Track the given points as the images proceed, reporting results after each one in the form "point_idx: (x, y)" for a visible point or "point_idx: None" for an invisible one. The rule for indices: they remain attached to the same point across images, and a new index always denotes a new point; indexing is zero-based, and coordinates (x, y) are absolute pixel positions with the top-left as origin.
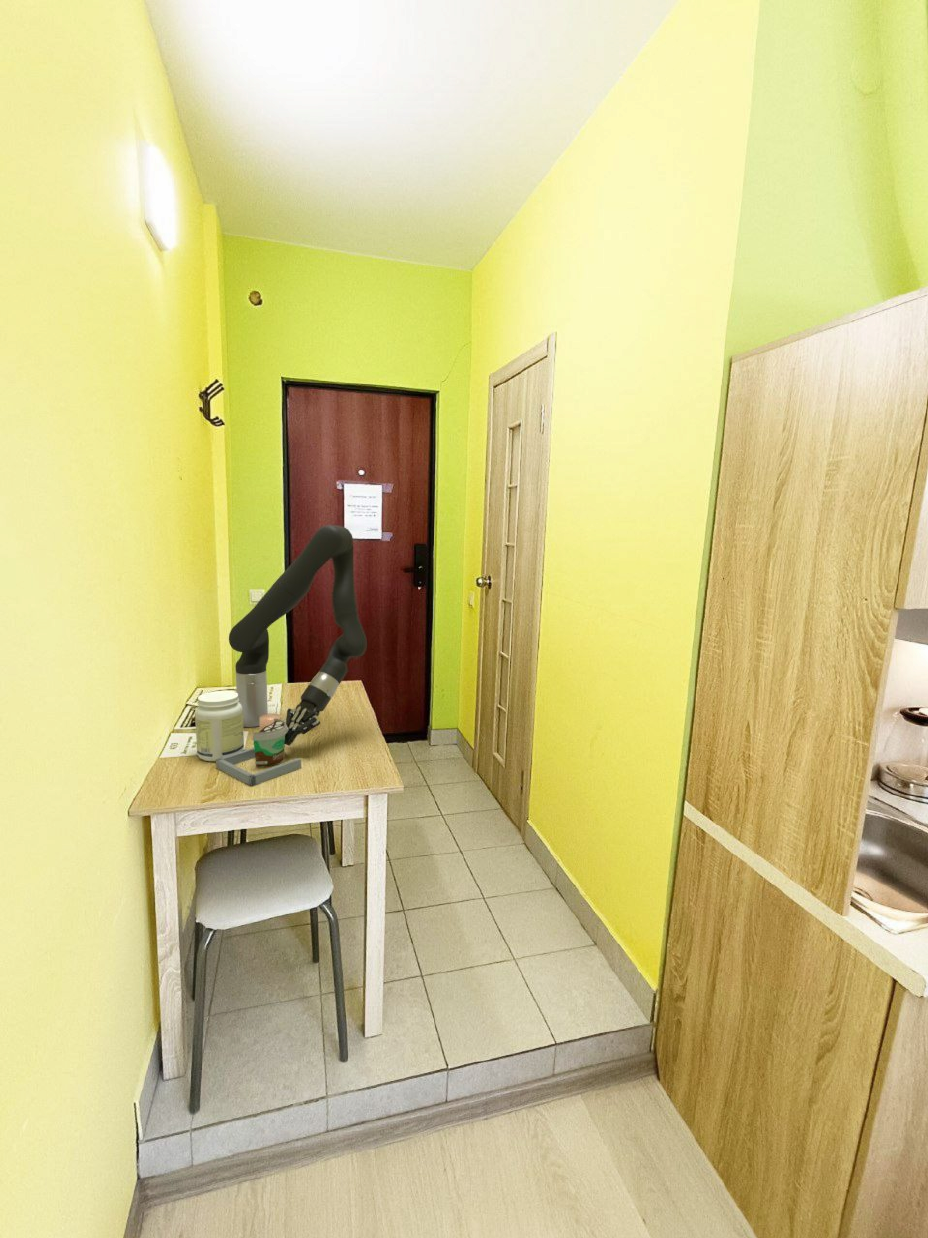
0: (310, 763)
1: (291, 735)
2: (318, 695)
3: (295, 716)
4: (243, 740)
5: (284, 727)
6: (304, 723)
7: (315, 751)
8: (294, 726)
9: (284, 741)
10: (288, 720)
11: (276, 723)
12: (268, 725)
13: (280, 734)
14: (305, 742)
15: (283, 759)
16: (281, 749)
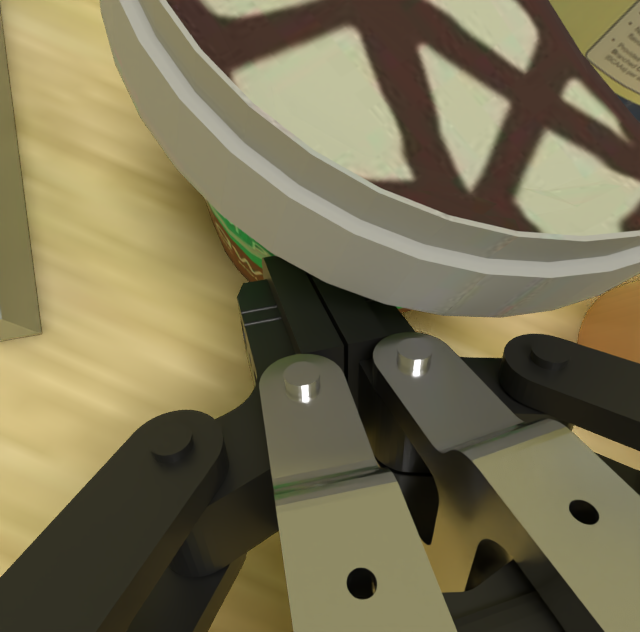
0: (33, 458)
1: (266, 336)
2: None
3: (586, 541)
4: (633, 70)
5: (243, 128)
6: (75, 622)
7: (276, 624)
8: (333, 408)
9: (272, 253)
10: (625, 396)
11: (601, 169)
12: (551, 11)
13: (111, 33)
14: None
15: None
16: (216, 215)
